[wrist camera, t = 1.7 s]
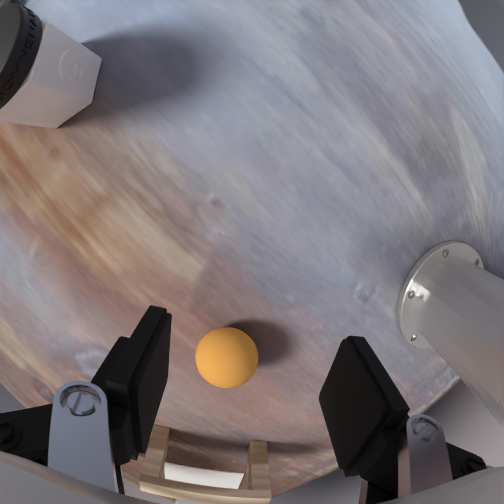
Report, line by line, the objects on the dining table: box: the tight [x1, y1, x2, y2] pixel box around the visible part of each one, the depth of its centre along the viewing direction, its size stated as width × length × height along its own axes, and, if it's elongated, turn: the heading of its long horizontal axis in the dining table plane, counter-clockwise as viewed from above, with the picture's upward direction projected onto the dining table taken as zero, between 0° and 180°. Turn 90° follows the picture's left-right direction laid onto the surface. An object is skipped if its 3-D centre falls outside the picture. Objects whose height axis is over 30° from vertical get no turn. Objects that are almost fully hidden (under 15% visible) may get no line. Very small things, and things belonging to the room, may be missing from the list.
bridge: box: [139, 425, 272, 504], centre depth 27 cm, size 3×14×9 cm, turn 79°
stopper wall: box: [176, 499, 208, 504], centre depth 36 cm, size 8×2×2 cm, turn 79°
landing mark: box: [164, 462, 244, 489], centre depth 35 cm, size 12×12×1 cm
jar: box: [0, 3, 102, 128], centre depth 14 cm, size 9×8×12 cm
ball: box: [195, 327, 258, 388], centre depth 24 cm, size 6×6×6 cm
